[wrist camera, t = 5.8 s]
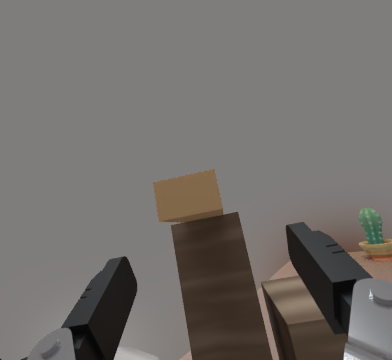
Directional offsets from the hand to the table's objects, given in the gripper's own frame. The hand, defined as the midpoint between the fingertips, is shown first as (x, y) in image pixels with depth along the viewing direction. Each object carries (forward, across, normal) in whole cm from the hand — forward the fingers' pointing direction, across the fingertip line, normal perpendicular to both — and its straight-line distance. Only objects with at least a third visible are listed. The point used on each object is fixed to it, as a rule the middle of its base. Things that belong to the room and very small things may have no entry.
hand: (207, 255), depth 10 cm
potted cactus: (+79, +74, -82) cm, 136 cm away
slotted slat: (+13, -1, -5) cm, 14 cm away
